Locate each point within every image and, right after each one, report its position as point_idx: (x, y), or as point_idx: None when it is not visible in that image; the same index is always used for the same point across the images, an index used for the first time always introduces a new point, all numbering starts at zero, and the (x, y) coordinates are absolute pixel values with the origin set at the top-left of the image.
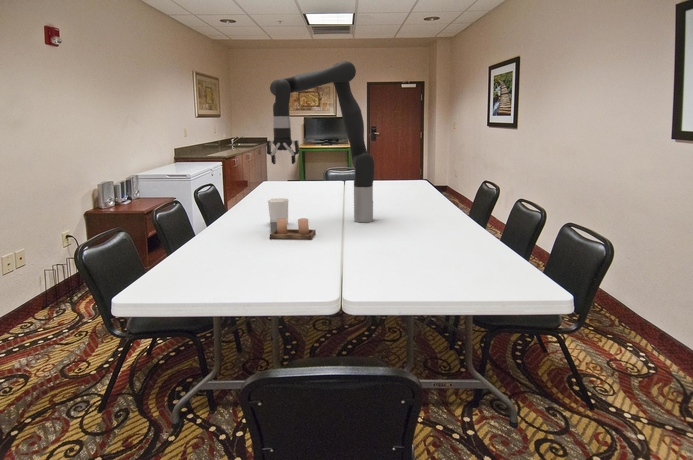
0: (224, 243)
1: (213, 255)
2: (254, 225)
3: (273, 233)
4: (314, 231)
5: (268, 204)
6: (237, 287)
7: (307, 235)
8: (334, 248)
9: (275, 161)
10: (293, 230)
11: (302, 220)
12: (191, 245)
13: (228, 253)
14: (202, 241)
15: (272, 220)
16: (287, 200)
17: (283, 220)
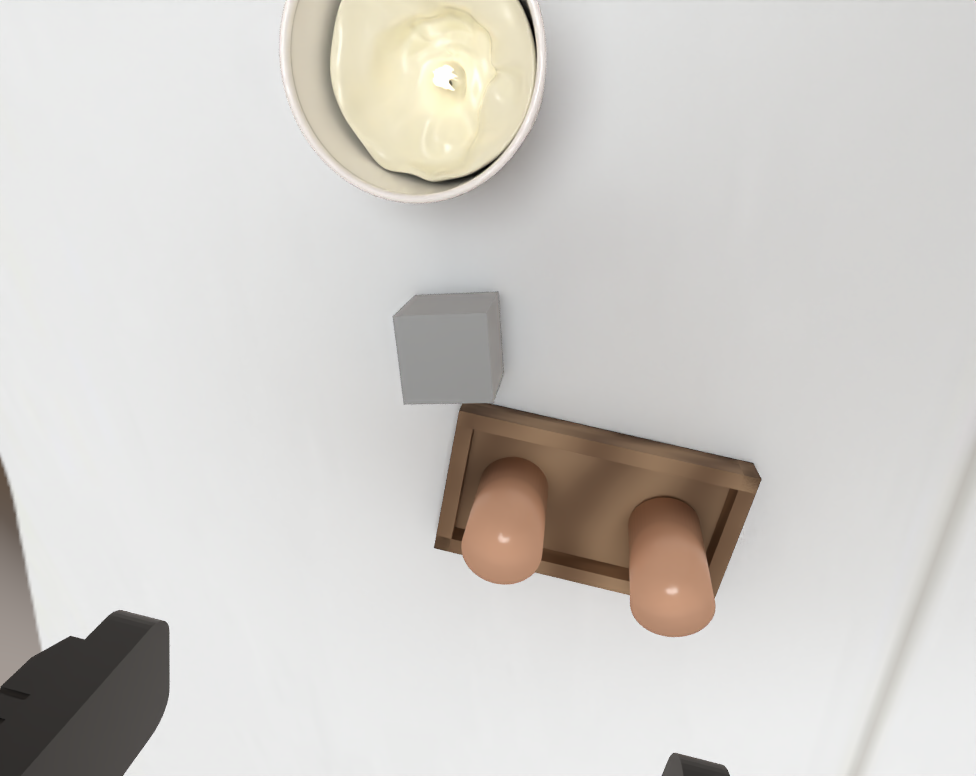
0: (198, 564)
1: (218, 732)
2: (255, 106)
3: (454, 520)
4: (746, 515)
5: (309, 100)
6: None
7: None
8: (811, 762)
9: (124, 673)
10: (591, 454)
11: (666, 621)
12: (43, 567)
13: (275, 721)
14: (63, 504)
15: (416, 348)
16: (533, 116)
17: (517, 580)
